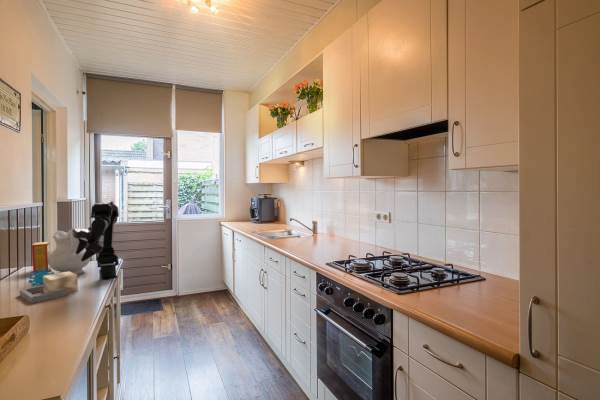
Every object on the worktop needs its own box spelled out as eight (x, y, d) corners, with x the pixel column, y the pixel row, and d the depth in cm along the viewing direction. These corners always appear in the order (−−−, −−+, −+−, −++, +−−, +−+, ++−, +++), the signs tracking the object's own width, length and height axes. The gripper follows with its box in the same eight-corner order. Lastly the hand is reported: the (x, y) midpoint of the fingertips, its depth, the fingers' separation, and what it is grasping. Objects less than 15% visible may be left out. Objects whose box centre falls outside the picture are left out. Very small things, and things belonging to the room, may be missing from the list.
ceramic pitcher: (99, 274, 178) (101, 229, 179) (58, 280, 162) (60, 230, 162) (80, 269, 190) (82, 227, 190) (40, 275, 173) (42, 228, 174)
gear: (23, 285, 150) (32, 267, 157) (27, 291, 154) (36, 273, 161) (52, 286, 153) (59, 268, 160) (54, 292, 157) (62, 274, 164)
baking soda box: (36, 269, 187) (35, 242, 186) (50, 267, 190) (49, 240, 190) (33, 273, 179) (31, 244, 178) (48, 271, 182) (46, 243, 182)
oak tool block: (69, 286, 153) (69, 271, 153) (77, 291, 146) (77, 274, 146) (43, 292, 145) (42, 275, 145) (50, 297, 138) (50, 280, 138)
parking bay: (53, 288, 151) (53, 282, 151) (67, 295, 140) (67, 289, 140) (19, 295, 141) (19, 289, 141) (31, 303, 130) (31, 297, 130)
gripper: (76, 215, 155) (56, 244, 152) (87, 228, 143) (66, 259, 140) (98, 224, 163) (80, 252, 160) (111, 237, 151) (91, 267, 148)
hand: (79, 257), depth 152 cm, fingers open, 9 cm apart
